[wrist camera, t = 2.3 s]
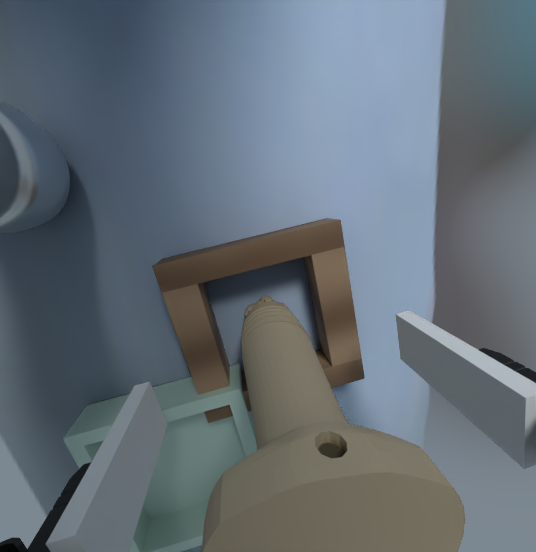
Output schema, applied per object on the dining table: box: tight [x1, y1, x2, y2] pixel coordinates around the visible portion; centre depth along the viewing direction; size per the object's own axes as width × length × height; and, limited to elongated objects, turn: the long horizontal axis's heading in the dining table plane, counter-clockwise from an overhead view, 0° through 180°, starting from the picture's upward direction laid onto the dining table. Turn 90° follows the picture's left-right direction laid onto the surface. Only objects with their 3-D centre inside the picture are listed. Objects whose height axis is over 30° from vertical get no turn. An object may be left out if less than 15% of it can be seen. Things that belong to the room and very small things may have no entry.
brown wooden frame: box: [152, 218, 364, 423], centre depth 20 cm, size 12×12×2 cm
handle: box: [202, 296, 465, 552], centre depth 14 cm, size 5×6×15 cm
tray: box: [63, 364, 257, 552], centre depth 21 cm, size 13×12×3 cm
